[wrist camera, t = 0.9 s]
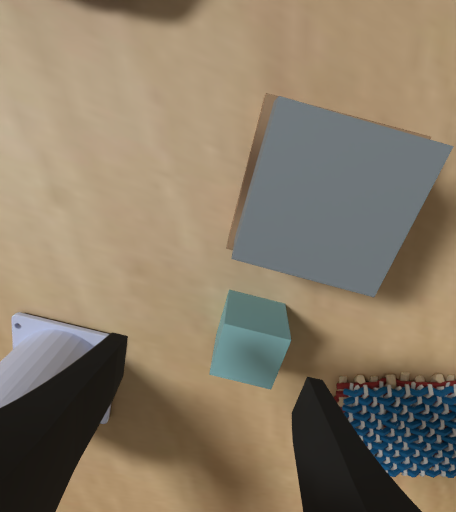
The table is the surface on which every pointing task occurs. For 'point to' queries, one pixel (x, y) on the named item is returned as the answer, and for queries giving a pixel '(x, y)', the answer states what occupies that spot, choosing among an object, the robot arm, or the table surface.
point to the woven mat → (404, 421)
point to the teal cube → (251, 340)
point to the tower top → (334, 196)
